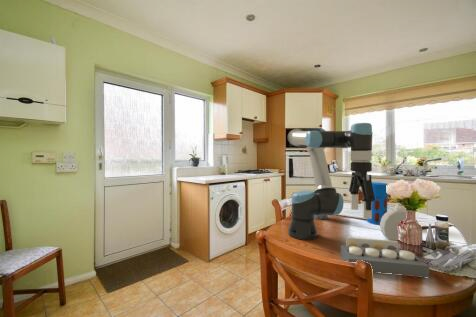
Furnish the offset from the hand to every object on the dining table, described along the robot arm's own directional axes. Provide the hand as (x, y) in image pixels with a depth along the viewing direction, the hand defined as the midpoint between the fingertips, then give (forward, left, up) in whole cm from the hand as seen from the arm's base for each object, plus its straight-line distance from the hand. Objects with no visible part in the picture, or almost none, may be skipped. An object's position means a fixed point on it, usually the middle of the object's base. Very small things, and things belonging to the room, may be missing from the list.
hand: (360, 213), depth 89 cm
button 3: (+9, -3, -17) cm, 19 cm away
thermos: (+27, +56, -20) cm, 65 cm away
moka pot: (-6, +60, -20) cm, 63 cm away
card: (+6, +6, -20) cm, 21 cm away
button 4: (+15, -3, -17) cm, 23 cm away
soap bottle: (+27, +29, -20) cm, 44 cm away
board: (+6, -3, -20) cm, 21 cm away
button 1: (-3, -3, -17) cm, 17 cm away
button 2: (+3, -3, -16) cm, 17 cm away
